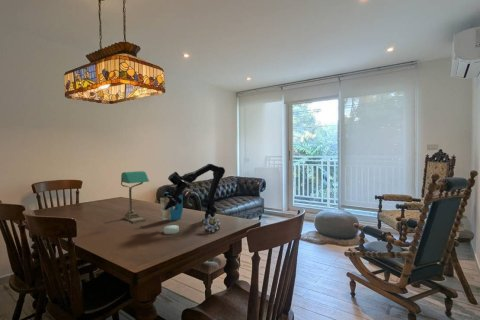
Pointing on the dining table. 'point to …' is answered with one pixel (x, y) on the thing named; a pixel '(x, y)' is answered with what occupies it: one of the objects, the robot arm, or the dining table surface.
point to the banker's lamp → (130, 178)
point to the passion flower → (211, 223)
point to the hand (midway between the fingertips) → (163, 208)
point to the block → (176, 210)
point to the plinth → (171, 229)
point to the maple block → (164, 213)
